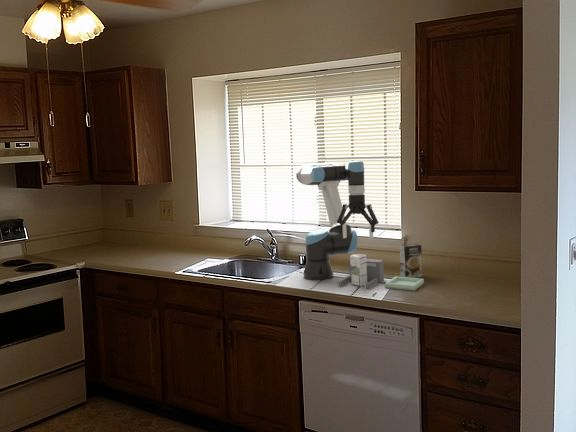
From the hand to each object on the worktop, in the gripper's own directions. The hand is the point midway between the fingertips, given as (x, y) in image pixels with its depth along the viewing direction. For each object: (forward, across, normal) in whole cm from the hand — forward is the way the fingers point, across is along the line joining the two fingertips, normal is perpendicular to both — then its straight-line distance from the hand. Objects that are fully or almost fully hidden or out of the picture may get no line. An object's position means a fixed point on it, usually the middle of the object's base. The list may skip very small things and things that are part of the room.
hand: (357, 238), depth 288 cm
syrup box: (+23, 0, 0) cm, 23 cm away
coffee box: (+23, +18, +23) cm, 37 cm away
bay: (+22, 0, +2) cm, 22 cm away
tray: (+22, +21, +5) cm, 31 cm away
